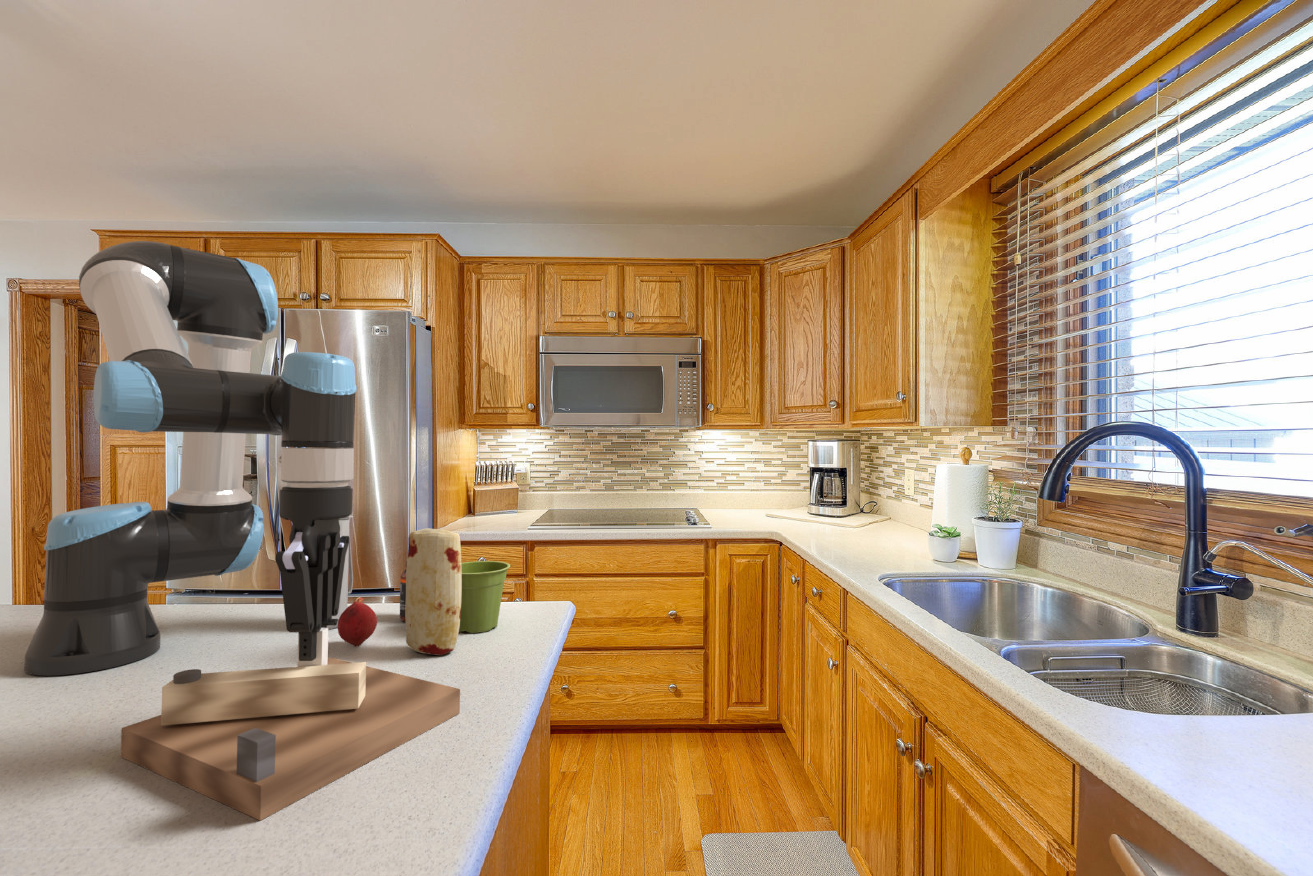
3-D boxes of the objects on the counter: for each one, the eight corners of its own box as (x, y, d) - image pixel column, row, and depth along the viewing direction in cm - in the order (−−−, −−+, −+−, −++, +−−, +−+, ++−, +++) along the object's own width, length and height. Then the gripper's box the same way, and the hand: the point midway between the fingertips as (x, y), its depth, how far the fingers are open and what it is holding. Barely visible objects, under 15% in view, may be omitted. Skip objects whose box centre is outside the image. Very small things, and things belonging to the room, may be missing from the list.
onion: (359, 653, 95) (361, 603, 95) (328, 650, 96) (329, 601, 96) (383, 642, 100) (384, 594, 101) (353, 639, 102) (354, 592, 102)
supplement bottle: (439, 617, 116) (440, 558, 116) (415, 625, 110) (416, 564, 111) (417, 613, 118) (418, 556, 118) (392, 621, 113) (393, 561, 113)
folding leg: (161, 725, 63) (162, 680, 63) (178, 711, 66) (179, 668, 66) (358, 708, 67) (359, 666, 67) (365, 695, 71) (366, 656, 71)
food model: (393, 655, 94) (396, 528, 95) (421, 642, 101) (423, 523, 101) (447, 662, 92) (449, 531, 92) (471, 648, 98) (474, 526, 98)
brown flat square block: (120, 756, 63) (122, 694, 63) (331, 678, 84) (332, 632, 84) (260, 820, 52) (262, 746, 52) (459, 713, 74) (460, 660, 74)
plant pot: (484, 615, 117) (485, 558, 118) (522, 627, 110) (523, 566, 110) (428, 628, 108) (430, 566, 109) (466, 642, 101) (467, 576, 101)
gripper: (312, 481, 77) (307, 665, 76) (251, 487, 64) (244, 709, 63) (372, 481, 77) (367, 664, 77) (323, 488, 64) (317, 708, 64)
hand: (312, 684), depth 70 cm, fingers closed
